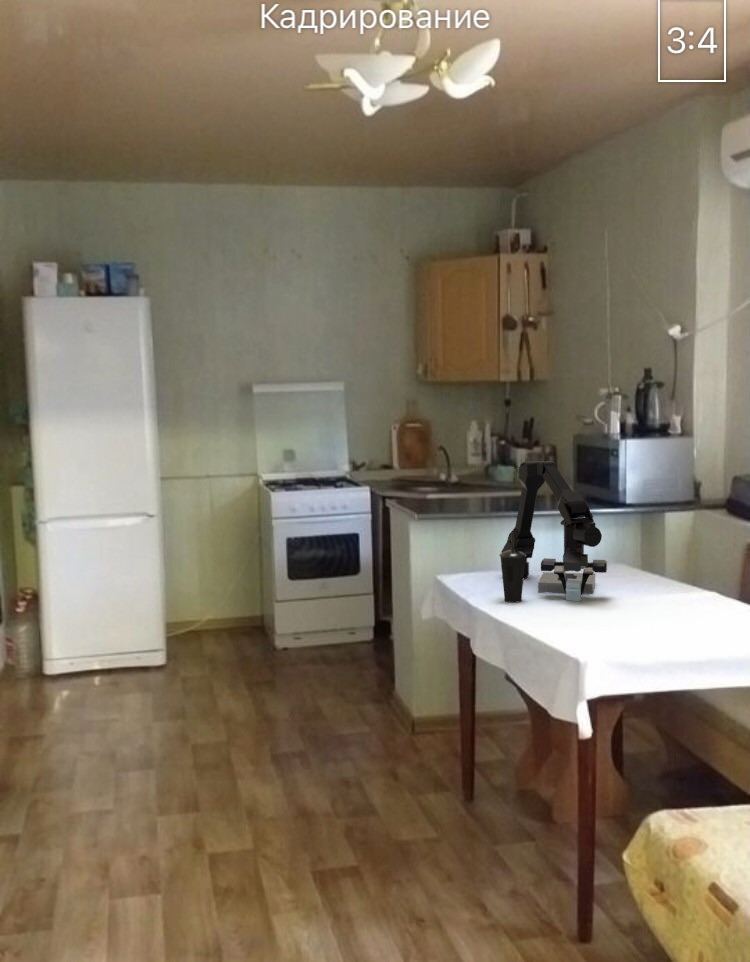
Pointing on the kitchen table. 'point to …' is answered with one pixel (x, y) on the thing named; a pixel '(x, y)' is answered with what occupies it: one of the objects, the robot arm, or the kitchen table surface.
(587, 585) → the grey square base plate
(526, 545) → the robot arm
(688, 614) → the kitchen table surface
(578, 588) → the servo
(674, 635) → the kitchen table surface
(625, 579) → the kitchen table surface
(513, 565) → the drinking cup
